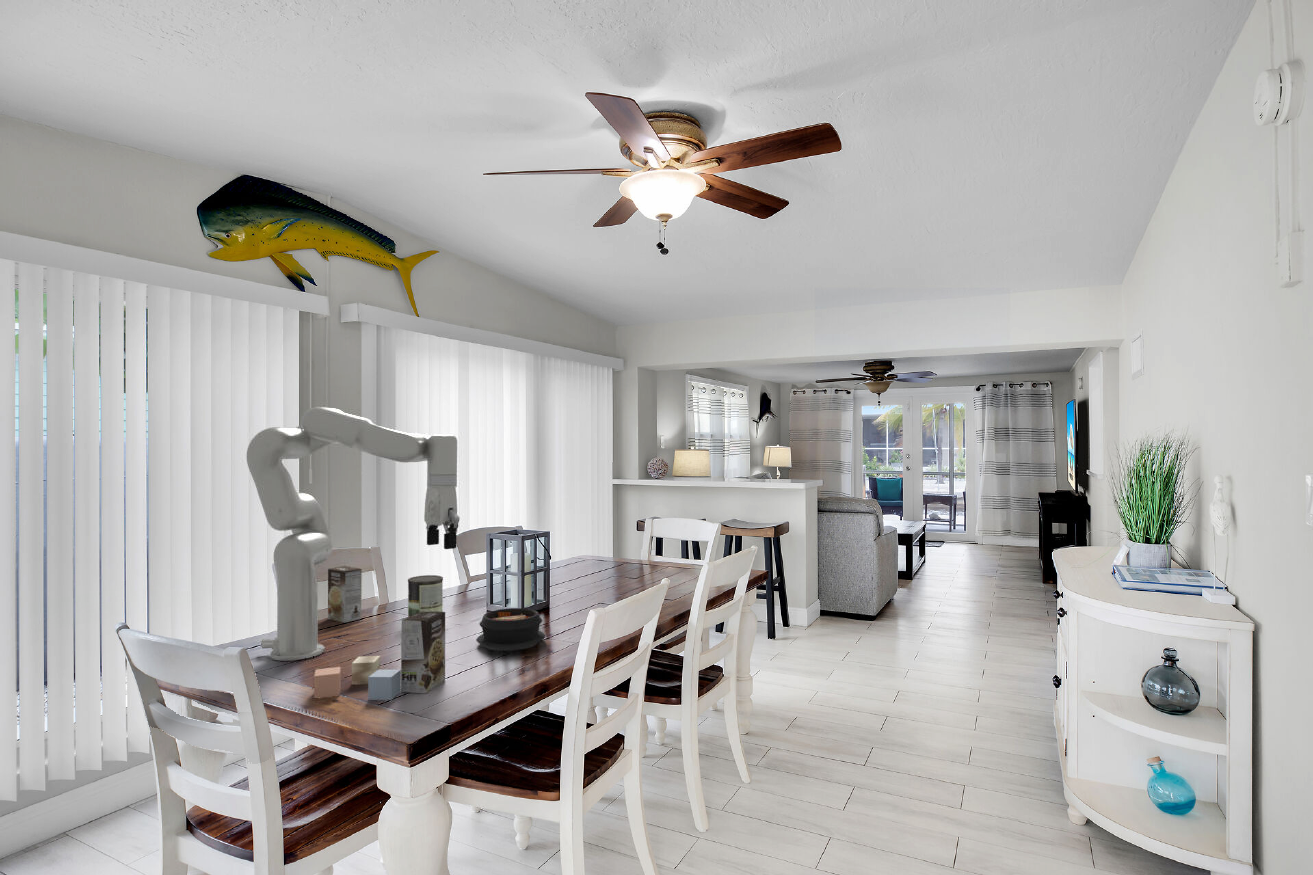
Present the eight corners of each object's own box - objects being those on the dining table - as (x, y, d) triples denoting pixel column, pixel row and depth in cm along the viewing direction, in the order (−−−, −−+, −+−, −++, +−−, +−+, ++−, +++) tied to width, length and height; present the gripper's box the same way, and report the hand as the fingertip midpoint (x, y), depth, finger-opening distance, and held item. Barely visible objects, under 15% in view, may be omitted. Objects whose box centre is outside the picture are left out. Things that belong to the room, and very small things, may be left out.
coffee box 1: (326, 619, 222) (326, 568, 223) (344, 615, 228) (344, 565, 228) (344, 622, 218) (344, 571, 218) (362, 618, 223) (362, 567, 223)
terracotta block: (314, 699, 152) (314, 676, 152) (315, 691, 157) (315, 669, 157) (339, 696, 154) (339, 673, 154) (340, 688, 158) (340, 666, 158)
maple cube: (351, 684, 161) (351, 663, 161) (358, 677, 166) (358, 656, 166) (374, 683, 162) (374, 662, 162) (380, 676, 167) (380, 655, 167)
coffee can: (402, 628, 211) (402, 581, 211) (415, 619, 221) (415, 574, 221) (436, 628, 210) (436, 581, 211) (447, 620, 221) (447, 575, 221)
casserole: (477, 634, 204) (477, 605, 204) (542, 630, 208) (542, 602, 208) (474, 660, 179) (474, 627, 179) (548, 655, 183) (548, 622, 183)
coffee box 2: (426, 694, 155) (426, 620, 155) (399, 692, 156) (399, 619, 156) (446, 680, 163) (446, 611, 164) (421, 678, 165) (421, 609, 165)
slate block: (368, 700, 151) (368, 676, 151) (378, 692, 156) (378, 669, 156) (391, 700, 151) (391, 676, 151) (400, 692, 156) (400, 669, 156)
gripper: (414, 480, 189) (413, 544, 188) (444, 483, 176) (443, 551, 176) (440, 479, 194) (439, 541, 194) (471, 482, 181) (470, 548, 181)
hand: (441, 546), depth 185 cm, fingers open, 9 cm apart
